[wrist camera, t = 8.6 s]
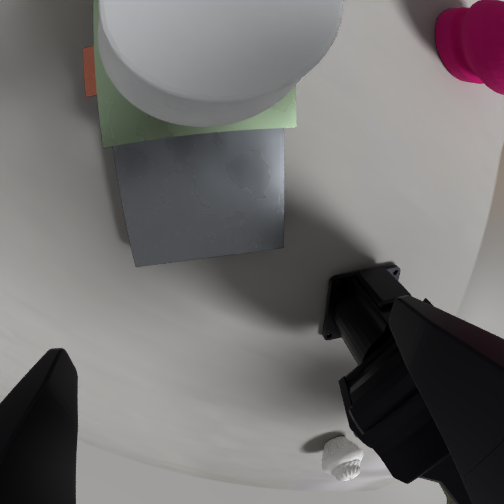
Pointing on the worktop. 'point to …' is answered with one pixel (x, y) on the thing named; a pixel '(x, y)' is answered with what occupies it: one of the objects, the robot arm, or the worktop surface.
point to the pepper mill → (473, 43)
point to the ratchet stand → (193, 175)
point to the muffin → (342, 458)
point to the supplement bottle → (212, 54)
